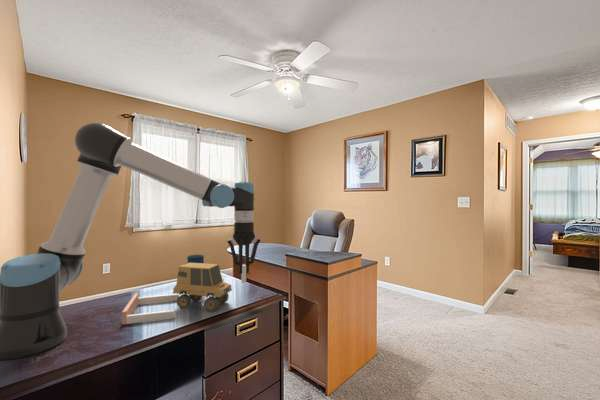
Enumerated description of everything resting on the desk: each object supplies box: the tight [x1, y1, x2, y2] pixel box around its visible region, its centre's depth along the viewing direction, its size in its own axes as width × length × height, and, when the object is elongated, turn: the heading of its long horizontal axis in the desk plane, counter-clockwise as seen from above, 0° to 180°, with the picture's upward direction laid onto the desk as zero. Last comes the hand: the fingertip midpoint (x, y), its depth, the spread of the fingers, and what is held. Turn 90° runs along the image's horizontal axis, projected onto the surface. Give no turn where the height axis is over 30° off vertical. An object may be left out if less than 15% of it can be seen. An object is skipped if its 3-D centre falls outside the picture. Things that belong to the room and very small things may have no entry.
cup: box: [186, 254, 205, 263], centre depth 122 cm, size 7×7×15 cm
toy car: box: [172, 262, 233, 312], centre depth 105 cm, size 10×19×15 cm, turn 78°
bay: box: [121, 292, 180, 325], centre depth 99 cm, size 15×18×4 cm
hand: (243, 281), depth 110 cm, fingers closed
